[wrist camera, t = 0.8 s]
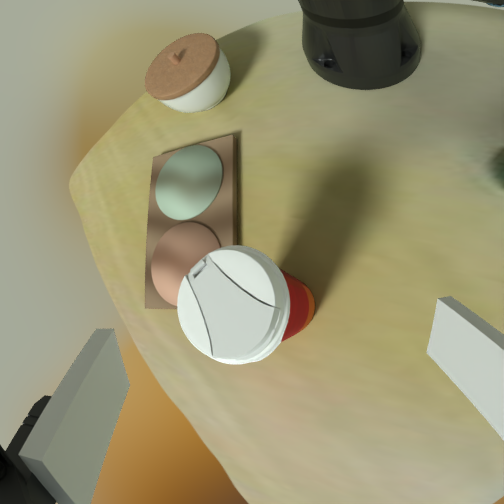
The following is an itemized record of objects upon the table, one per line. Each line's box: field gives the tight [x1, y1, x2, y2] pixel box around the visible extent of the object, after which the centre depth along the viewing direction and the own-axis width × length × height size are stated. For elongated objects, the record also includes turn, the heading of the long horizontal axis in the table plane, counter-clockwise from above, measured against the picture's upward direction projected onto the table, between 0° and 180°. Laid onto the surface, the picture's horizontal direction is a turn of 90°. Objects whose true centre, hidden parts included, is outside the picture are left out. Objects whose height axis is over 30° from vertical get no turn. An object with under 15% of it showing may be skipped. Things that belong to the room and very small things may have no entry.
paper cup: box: [177, 245, 315, 364], centre depth 26 cm, size 8×8×14 cm
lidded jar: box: [145, 33, 231, 113], centre depth 37 cm, size 11×11×9 cm
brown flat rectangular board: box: [145, 135, 237, 309], centre depth 37 cm, size 20×12×2 cm, turn 1°
